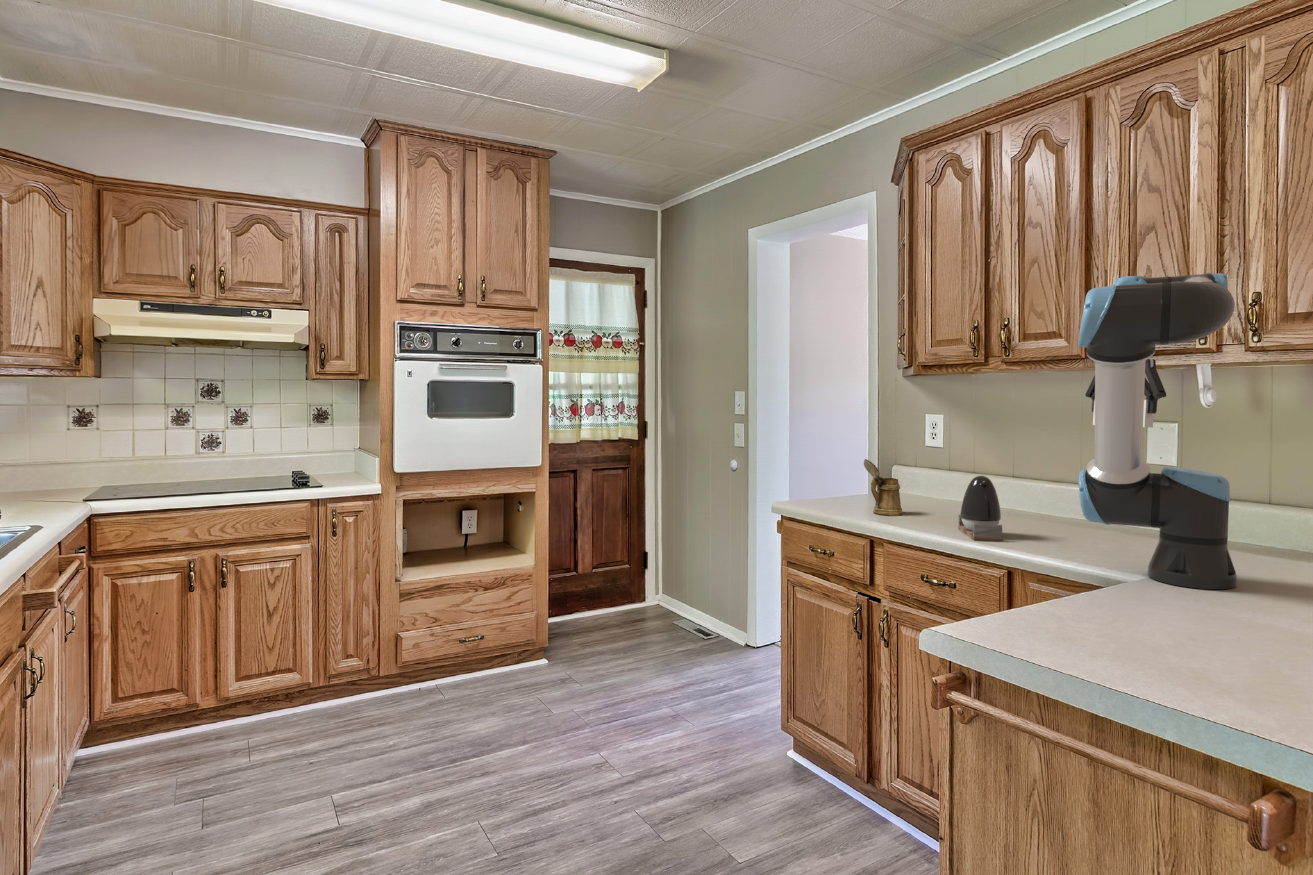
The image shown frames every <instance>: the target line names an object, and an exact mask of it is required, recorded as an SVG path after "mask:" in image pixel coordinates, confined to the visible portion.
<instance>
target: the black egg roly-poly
mask: <svg viewBox="0 0 1313 875" xmlns="http://www.w3.org/2000/svg"><path fill="white" fill-rule="evenodd" d="M998 496H999V495H998V493H997V490H996V486H995V485H994V483H993V481H992V480H991V479H990V478H989V477H988V476H985V475H978V476H974V477H973V478H972V479H971V480H970V482H969V483H968V485H967V488H966V490H965V492H964V495H963V500H962V502H961V507H960V514H959V515H960V517H961V518H962V522H963V524H964V526H965V527H966V528H967V529H969V530H970V531H973V524H984V525H1000V524H999V523H1000V520H1001V519H1002V513H1001V507H1000V500H999V497H998Z"/></svg>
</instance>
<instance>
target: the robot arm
mask: <svg viewBox="0 0 1313 875" xmlns="http://www.w3.org/2000/svg"><path fill="white" fill-rule="evenodd" d="M1228 285H1229V280H1228V275H1227V274H1226V273H1217V272H1215V273H1212V272H1208V273H1203V274H1202V273H1201V274H1199V273H1198V274H1189V275H1175V276H1157V277H1156V276H1155V277H1146V276H1143V275H1130V276H1121V277H1119V278H1116V279H1115V280H1114V282H1113V284H1112V285H1109V286H1100V287H1093V288H1091V289H1090V290H1088V292H1087V293H1086V295H1085V300H1084V305H1083V310H1082V316H1081V320H1080V327H1079V334H1078V342H1077V346H1078V347H1081V348H1084V349H1085V348H1086V356H1087V357H1088V358H1089V359H1090V360H1091V361H1093V362H1094V364H1095V365H1094V370H1095V371H1094V372H1095V373H1094V376H1093V377H1092V380H1091V382H1090V384H1089V386H1088V388H1087V390H1086V392H1085V397H1086V398H1090V399H1091V400H1092V402H1091V412H1092V414H1093V415H1092V418H1093V419H1092V426H1094V458H1093V459H1091V460H1090V461H1088V463H1087V464H1086V468H1085V469H1082V470H1080V471H1079V475H1078V491H1079V493H1078V494H1079V503H1080V510H1081V512H1082V515H1083V517H1084V519H1086V520H1087V521H1088V522H1091V523H1099V524H1103V525H1118V526H1119V525H1120V526H1129V527H1130V526H1131V527H1144V528H1154V529H1159V537H1158V538H1159V539H1158V543H1157V544H1156V547H1155V550H1154V552H1153V554H1152V556H1151V559H1150V561H1149V563H1148V566H1147V576H1148V577H1149V578H1151V579H1152V580H1154V581H1158V582H1161V583H1164V584H1168V585H1174V586H1178V587H1184V588H1191V589H1201V590H1203V589H1204V590H1228V589H1233V588H1235V587H1237V581H1238V580H1237V579H1238V577H1237V572H1236V569H1235V566H1234V564H1233V561H1232V558H1231V554H1230V550H1229V549H1228V542H1229V541H1228V539H1229V515H1230V514H1229V513H1230V508H1229V507H1230V502H1231V501H1232V498H1230V497H1231V495H1230V494H1231V492H1230V482H1229V480H1228V479H1227V478H1226V477H1224V476H1222V475H1220V474H1216V473H1212V472H1209V471H1203V470H1197V469H1191V468H1183V467H1174V466H1164V467H1162V469H1161V471H1160V473H1155V472H1154V473H1153V472H1151V468H1150V465H1149V464H1148V463H1147V462H1146V461H1145V460H1143V438H1144V437H1143V433H1144V428H1154V415H1155V414H1157V412H1158V411H1157V410H1158V401H1159V400H1160V399H1162V398H1166V397H1167V392H1166V390H1165V387H1164V384H1163V383H1162V380H1161V378H1160V375H1159V373H1158V369H1157V362H1156V359H1153V358H1151V357H1153V355H1155V353H1156V346H1158V345H1159V346H1160V345H1176V344H1184V343H1189V342H1193V341H1196V340H1200V339H1202V338H1203V339H1204V337H1205V338H1206V337H1207V336H1210V335H1212V334H1213V333H1215V332H1218V331H1220V330H1221V329H1222V328H1223V327H1225V325H1227V324H1228V322H1229V321H1230V319H1231V318H1232V317H1233V314H1234V311H1235V307H1236V306H1235V299H1234V296H1233V295H1232V293H1231V292H1230V291H1229V289H1228V287H1229V286H1228Z"/></svg>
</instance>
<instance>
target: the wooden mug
mask: <svg viewBox="0 0 1313 875" xmlns="http://www.w3.org/2000/svg"><path fill="white" fill-rule="evenodd" d="M863 466H864V468H865V470H866V471H867V472H868V473H869V474H870V475H871V476H872V479H871V482H870V491H871V494H872V496H873V498H874V501H875V502H874V507H873V511H872V513H873V514H876V515H879V516H889V517H891V516H892V517H895V516H902V515H903V514H904V511H903V508H902V506H901V504H902V503H901V496H900V489H901V486H900V483H899V479H898V478H894V477H884V478H883V477H882V476H880V471H879V468H878V467H877V466H876V465H875V464H874V463H873V462H872V461H870V460H868V459H867V458H864V460H863Z"/></svg>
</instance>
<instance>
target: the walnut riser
mask: <svg viewBox="0 0 1313 875" xmlns="http://www.w3.org/2000/svg"><path fill="white" fill-rule="evenodd" d="M957 529H958V530H959V531H960V532H961V533H963V534H964V535H966V536H967V537H968V538H970V539H971V540H973V541H974V542H975V541H977V542H978V541H979V542H1003V525H1002V524H998V525H984V524H973V531H970V530H969V529H967V528H966V527H965V526H964V524H963V522H962V518H961V517H960V514H958V528H957Z"/></svg>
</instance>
